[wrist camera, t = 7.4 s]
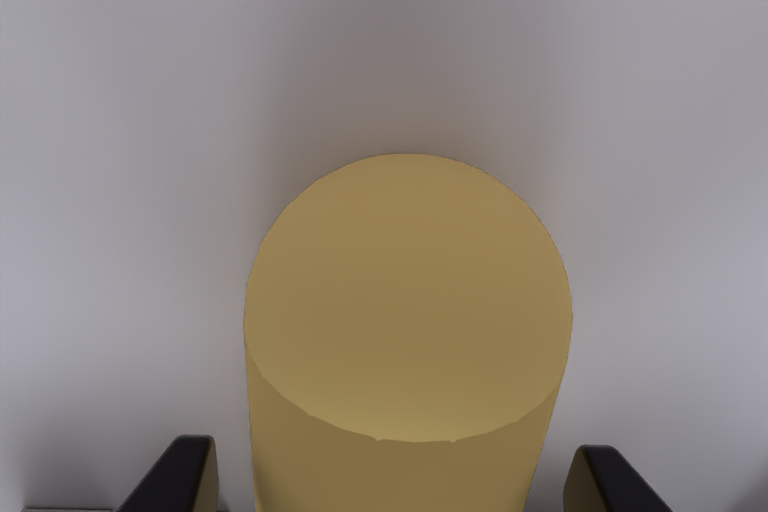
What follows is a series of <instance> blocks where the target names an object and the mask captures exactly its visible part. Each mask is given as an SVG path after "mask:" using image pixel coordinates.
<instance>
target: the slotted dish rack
mask: <svg viewBox="0 0 768 512" xmlns="http://www.w3.org/2000/svg"><path fill="white" fill-rule="evenodd" d="M21 512H112V510H64V509H22V511H21Z"/></svg>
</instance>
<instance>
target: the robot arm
mask: <svg viewBox="0 0 768 512" xmlns="http://www.w3.org/2000/svg"><path fill="white" fill-rule="evenodd" d="M218 490H219V478H218V468H217V458H216V449H215V441H214V439H213V437H211V436H209V435H188V434H184V435H180V436H178V437H177V438H175V440H174V441H173V442H172V443H171V444H170V446H169V447H168V448H167V449H166V450H165V452H164V453H163V454H162V455H161V457H160V458H159V459H158V460H157V462H156V463H155V464H154V465H153V467H152V468H151V469H150V470H149V472H148V473H147V474H146V475H145V477H144V478H143V479H142V480H141V482H140V483H139V484H138V485H137V487H136V488H135V489H134V490H133V492H132V493H131V494H130V495H129V497H128V498H127V499H126V500H125V502H124V503H123V504H122V505H121V506H120V508H119V509H118V510H117V511H116V512H216V509H217V501H218ZM563 505H564V512H673V511H672V510H671V509H670V508H669V507H668V506H667V504H666V503H665V502H664V501H663V500H662V499H661V498H660V497H659V496H658V495H657V493H656V492H655V491H654V490H653V489H652V488H651V487H650V486H649V485H648V483H647V482H646V481H645V480H644V479H643V478H642V477H641V476H640V475H639V474H638V472H637V471H636V470H635V469H634V468H633V467H632V466H631V465H630V464H629V462H628V461H627V460H626V459H625V458H624V457H623V456H622V455H621V454H620V453H619V451H618V450H616V449H615V448H614V447H612V446H609V445H586V444H585V445H581V446H579V447H578V448H577V450H576V452H575V455H574V458H573V461H572V464H571V467H570V470H569V473H568V476H567V479H566V482H565V485H564V490H563Z"/></svg>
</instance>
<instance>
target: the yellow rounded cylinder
mask: <svg viewBox="0 0 768 512" xmlns="http://www.w3.org/2000/svg"><path fill="white" fill-rule="evenodd" d="M572 319H573V314H572V305H571V296H570V289H569V284H568V279H567V275H566V271H565V268H564V266H563V263H562V260H561V258H560V255H559V253H558V250H557V247H556V246H555V244H554V242H553V240H552V238H551V236H550V234H549V232H548V231H547V230H546V228H545V227H544V225H543V224H542V223H541V221H540V220H539V219H538V217H537V216H536V215H535V213H534V212H533V211H532V210H531V208H530V207H529V206H528V205H527V204H526V203H525V202H524V200H523V199H521V198H520V197H519V196H517V195H516V194H515V193H514V192H512V191H511V190H510V189H508V188H507V187H506V186H505V185H503V184H502V183H501V182H499V181H498V180H497V179H495V178H494V177H493V176H491V175H489V174H487V173H485V172H484V171H482V170H480V169H478V168H475V167H473V166H470V165H468V164H465V163H462V162H459V161H455V160H452V159H448V158H443V157H438V156H433V155H426V154H388V155H379V156H374V157H369V158H364V159H361V160H358V161H356V162H353V163H350V164H348V165H346V166H344V167H341V168H339V169H337V170H335V171H333V172H331V173H329V174H327V175H325V176H324V177H322V178H320V179H318V180H316V181H315V182H314V183H313V184H311V185H310V186H309V187H308V188H307V189H305V190H304V191H303V192H302V193H301V194H300V195H299V196H297V197H296V198H295V199H294V200H293V201H292V202H291V203H290V204H288V205H287V206H286V207H285V209H284V210H283V211H282V213H281V214H280V215H279V217H278V218H277V219H276V221H275V222H274V224H273V225H272V227H271V228H270V230H269V231H268V233H267V235H266V236H265V238H264V239H263V241H262V242H261V245H260V248H259V250H258V253H257V256H256V258H255V261H254V264H253V267H252V270H251V273H250V276H249V279H248V282H247V286H246V301H245V313H244V339H245V355H246V371H247V386H248V402H249V418H250V433H251V449H252V465H253V481H254V496H255V512H523V510H524V507H525V503H526V500H527V497H528V493H529V490H530V486H531V483H532V480H533V476H534V473H535V469H536V466H537V463H538V459H539V456H540V452H541V449H542V446H543V442H544V439H545V435H546V432H547V429H548V425H549V422H550V418H551V415H552V411H553V408H554V405H555V401H556V398H557V394H558V391H559V388H560V384H561V381H562V377H563V374H564V371H565V367H566V364H567V358H568V352H569V345H570V338H571V329H572Z"/></svg>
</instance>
